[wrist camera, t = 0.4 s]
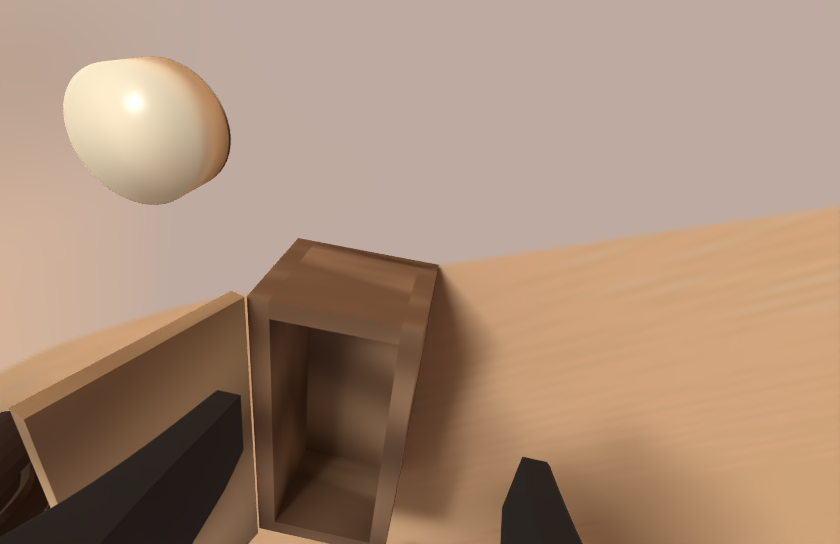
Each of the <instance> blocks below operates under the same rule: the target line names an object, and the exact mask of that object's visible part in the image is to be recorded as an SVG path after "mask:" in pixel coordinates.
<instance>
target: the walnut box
mask: <svg viewBox="0 0 840 544" xmlns="http://www.w3.org/2000/svg"><path fill="white" fill-rule="evenodd" d="M437 271H438V265H436V264H431V263H425V262H420V261H415V260H410V259H404V258H399V257H394V256H389V255H384V254H378V253H373V252H367V251H363V250H357V249H352V248H346V247H341V246H336V245H331V244H326V243H321V242H315V241H310V240H305V239H300V238H298V239H297V240H296V242H295V243H294V244H293V245H292V246H291V247H290V248H289V250H288V251H287V252H286V253H285V254H284V255H283V256H282V258H280V260H279V261H278V262H277V263H276V264H275V265H274V266H273V268H272V269H271V270H270V271H269V272H268V273H267V274H266V275H265V277H264V278H263V279H262V280H261V281H260V282H259V283H258V284H257V286H256V287H255V288H254V289H253V290H252V291H251V292H250V294H249V295H248V296H247V307H248V325H249V344H250V362H251V380H252V399H253V417H254V436H255V454H256V472H257V491H258V509H259V528H262V529H267V530H271V531H276V532H280V533H284V534H289V535H293V536H298V537H302V538H307V539H311V540H316V541H320V542H325V543H329V544H386V541H387V536H388V531H389V526H390V521H391V516H392V511H393V506H394V502H395V497H396V492H397V487H398V482H399V477H400V472H401V466H402V461H403V456H404V450H405V445H406V439H407V434H408V428H409V423H410V417H411V412H412V407H413V401H414V396H415V390H416V385H417V379H418V374H419V369H420V363H421V358H422V352H423V347H424V341H425V336H426V330H427V325H428V320H429V314H430V309H431V303H432V298H433V292H434V287H435V282H436V276H437Z"/></svg>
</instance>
